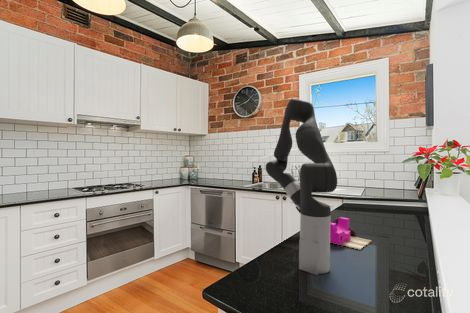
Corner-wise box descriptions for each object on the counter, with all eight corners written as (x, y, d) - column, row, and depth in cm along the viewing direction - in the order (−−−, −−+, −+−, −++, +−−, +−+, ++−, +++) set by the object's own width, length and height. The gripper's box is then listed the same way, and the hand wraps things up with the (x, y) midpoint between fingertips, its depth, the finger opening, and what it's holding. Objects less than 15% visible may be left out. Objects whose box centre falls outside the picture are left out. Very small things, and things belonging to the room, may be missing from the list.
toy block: (338, 245, 106) (339, 226, 106) (324, 241, 111) (324, 222, 111) (354, 237, 117) (355, 219, 116) (340, 233, 121) (340, 217, 121)
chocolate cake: (364, 237, 121) (348, 214, 128) (357, 235, 116) (341, 212, 124) (346, 248, 125) (332, 225, 132) (339, 247, 120) (325, 223, 128)
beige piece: (360, 250, 102) (360, 217, 102) (302, 236, 118) (302, 207, 118) (371, 241, 112) (372, 211, 112) (316, 230, 128) (317, 203, 128)
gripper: (293, 189, 121) (317, 220, 113) (308, 186, 131) (332, 214, 124) (283, 199, 124) (306, 230, 117) (298, 196, 135) (320, 224, 127)
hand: (319, 222), depth 120 cm, fingers open, 7 cm apart
